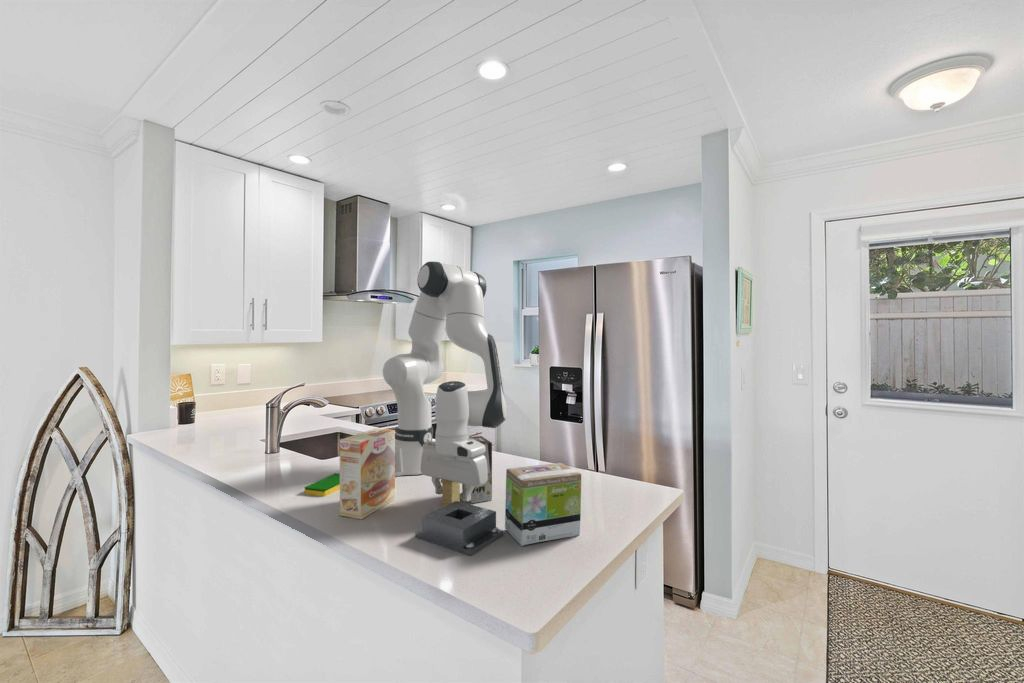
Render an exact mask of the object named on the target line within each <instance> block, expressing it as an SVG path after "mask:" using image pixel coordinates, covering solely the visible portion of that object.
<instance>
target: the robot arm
mask: <svg viewBox="0 0 1024 683" xmlns="http://www.w3.org/2000/svg"><path fill="white" fill-rule="evenodd" d="M417 286H418V289H419V290H420V293H419V295H418V298H417V300H416V304H415V306H414V308H413V313H412V316H411V320H410V324H409V328H408V331H407V332H408V336H409V337H410V339H411V351H410V353H401V354H400V353H399V354H398V355H395V356H393V357H390V358H389V359H387V360H386V361H385V363H384V364H383V368H382V376H383V379H384V381H385V383H386V384H387V385H388V386H389V387H390V388H391V389H392V391H393V394H394V397H395V400H396V406H397V407H396V408H397V427H395V428H392V429H391V430H395V477H399V476H400V477H401V476H415V475H423V476H426V477H431V482H432V484H433V486H434V488H435V490H434V491H435V494H437V495H441V496H442V483H441V479H444V480H448V481H453V482H457V483H460V485H462V484H466V488H467V491H466V493H461V494H462V501H463V502H470V500H471V493H472V491H473V489H474V488H475V487H479V486H482V485H484V484H485V483H486V481H487V479H488V471H487V460H486V458H485V456H484V455H483V453H485V451H486V447H485V445H484V444H482V443H480V442H478V441H476V440H475V439H473V438H472V437H473V436H470V429H469V427H482V428H487V429H488V428H490V429H496V428H498V427H500V425H502V424H503V422H505V421H506V418H507V414H508V406H507V402H506V399H505V395H504V388H503V382H502V375H501V373H502V372H501V367H500V361H499V354H498V347H497V344H496V342H495V338H494V336H493V335H491V334H490V333H488V331H487V328H486V326H485V300H484V298H485V295H486V292H487V281H486V278H485V277H484V276H483V275H481V274H479V273H478V272H476V271H471V270H468V269H466V268H464V267H461V266H458V265H456V266H455V265H451V264H446V263H441V262H440V261H427V262H425V263H424V264H422V266H421V267H420V269H419V272H418V275H417ZM444 331H445V333H446V335H447V338H448V339H449V340H450V341H451V343H453V344H454V345H455V346H457V347H458V348H460V349H463V350H465V351H466V352H469V353H470V352H471V353H473V354H475V355H477V356H478V357H480V358H481V360H482V361H483V365H484V372H485V379H486V387H487V388H486V389H485V390H484V391H481V390H480V391H479V390H477V391H476V390H474V391H473V390H468V389H467V388H468V386H467V385H466V383H465V382H462V381H459V380H458V381H455V380H451V381H446V382H442V383H441V384H439V385H438V386H437V390H436V395H435V406H434V407H435V409H434V410H435V411H434V418H435V422H436V428H435V433H434V427H433V425H432V417H433V416H432V413H433V412H432V403H431V400H429V399H428V398H427V396H426V393H425V389H424V385H427V384H431V383H433V382H434V381H437V380H438V379H439V378H440V377H441V376H442V375H443V372H444V362H443V360H442V358H441V343H442V339H443V335H444ZM434 434H435V436H434ZM433 438H434V439H435V441H433Z"/></svg>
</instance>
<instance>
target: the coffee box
mask: <svg viewBox="0 0 1024 683" xmlns="http://www.w3.org/2000/svg"><path fill="white" fill-rule="evenodd" d="M471 437H472V438H473V439H475V440H476V441H478V442H480V443H482V444H484V445H485V447H486V451H485V453H483V455H484V456H485V458H486V460H487V471H488V479H487V481H486V483H485V484H484V485H482V486H479V487H475V488H474V489H473V491H472V493H471V500H470V501H469V502H470V504H476V503H482V502H490V501H492V500H493V442H491V441H490V440H488V439H487V438H485V437H483V436H482V435H480V436H479V435H478V436H471ZM461 485H462V486H461V488H462V489H461V490H462V491H461V492H462V493H461V494H463V493H466V491H467V488H466V484H461Z"/></svg>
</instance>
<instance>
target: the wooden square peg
mask: <svg viewBox="0 0 1024 683" xmlns="http://www.w3.org/2000/svg"><path fill="white" fill-rule="evenodd" d="M440 483H441V486H442V494H441V496H442V497H441V500H442V501H441V508H442V507H444V506H446V505H448V504H451V503H453V502H455V501H459V502H461V501H460V500H461V497H460V492H461V491H460V490H461V489H460V485H461V483H457V482H453V481H448V480H444V479H440Z"/></svg>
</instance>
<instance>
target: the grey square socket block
mask: <svg viewBox="0 0 1024 683" xmlns="http://www.w3.org/2000/svg"><path fill="white" fill-rule="evenodd" d="M414 534H415V535H414V537H415V538H417V539H419V540H422V541H426V542H429V543H432V544H434V545H438V546H441V547H443V548H446V549H449V550H453V551H456V552H458V553H461V554H464V555H467V556H472V555H475V554H476V553H478V552H479V551H481V550H482V549H484V548H485V547H486V546H488V545H490V544H491V543H493V542H494V541H496V540H497V539H499V538H500V537H502V536H504V530H503V529H500V528H499V527H497V511H496V510H492V509H488V508H485V507H481V506H477V505H474V504H471V503H470V504H469V503H467V502H464V501H463V502H462V501H460V502H459V501H455V502H453V503H451V504H448V505H446V506H444V507H442V506H441V508H438V509H436V510H434V511H431V512H429V513H427V514H426V515H423V516H421V528H420V529H419V530H418V531H415V533H414Z"/></svg>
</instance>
